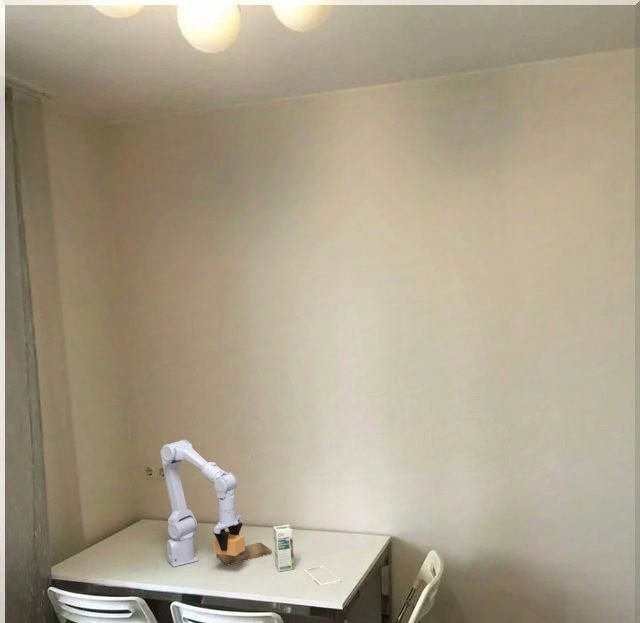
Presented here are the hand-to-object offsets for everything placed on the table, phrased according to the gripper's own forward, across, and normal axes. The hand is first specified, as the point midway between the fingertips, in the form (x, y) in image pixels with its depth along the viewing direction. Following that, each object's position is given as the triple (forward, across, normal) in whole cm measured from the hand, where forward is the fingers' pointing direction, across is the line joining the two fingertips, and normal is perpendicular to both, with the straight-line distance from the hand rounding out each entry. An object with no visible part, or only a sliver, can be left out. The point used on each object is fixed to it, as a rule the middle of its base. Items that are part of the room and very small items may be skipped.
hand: (229, 547), depth 243 cm
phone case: (+9, +6, -33) cm, 35 cm away
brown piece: (+8, +14, +3) cm, 17 cm away
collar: (+2, 0, 0) cm, 2 cm away
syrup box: (+9, +8, -17) cm, 21 cm away
